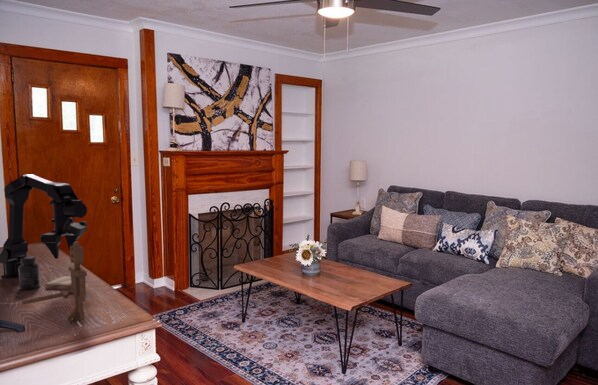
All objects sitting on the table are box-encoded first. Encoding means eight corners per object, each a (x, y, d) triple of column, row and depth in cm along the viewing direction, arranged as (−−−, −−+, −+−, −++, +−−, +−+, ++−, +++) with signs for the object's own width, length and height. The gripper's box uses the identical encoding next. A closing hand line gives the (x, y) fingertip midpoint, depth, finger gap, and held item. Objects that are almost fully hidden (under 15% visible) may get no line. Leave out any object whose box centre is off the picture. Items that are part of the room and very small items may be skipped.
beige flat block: (45, 290, 168) (45, 283, 167) (62, 282, 177) (62, 275, 177) (69, 291, 166) (69, 284, 166) (85, 283, 176) (85, 276, 176)
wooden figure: (22, 324, 134) (16, 244, 131) (84, 310, 146) (80, 237, 143) (30, 340, 123) (25, 253, 121) (97, 323, 135) (93, 244, 132)
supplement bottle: (44, 286, 171) (42, 256, 169) (27, 291, 165) (25, 260, 163) (32, 283, 174) (30, 254, 172) (15, 288, 167) (13, 258, 166)
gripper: (66, 220, 159) (68, 262, 160) (95, 212, 177) (97, 250, 179) (37, 220, 160) (40, 261, 162) (69, 212, 178) (71, 249, 180)
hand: (64, 255), depth 171 cm, fingers open, 9 cm apart
